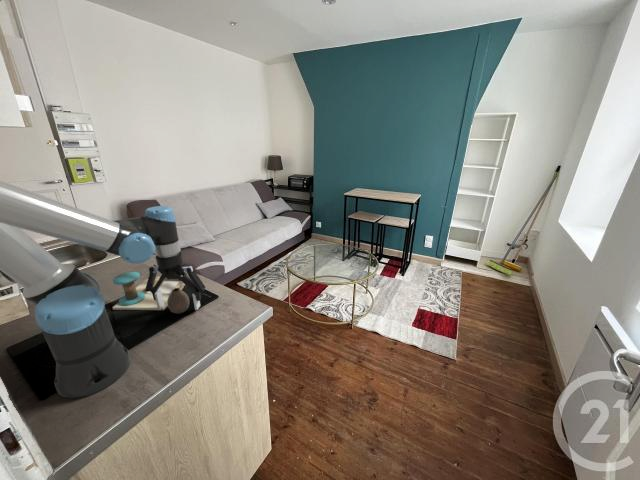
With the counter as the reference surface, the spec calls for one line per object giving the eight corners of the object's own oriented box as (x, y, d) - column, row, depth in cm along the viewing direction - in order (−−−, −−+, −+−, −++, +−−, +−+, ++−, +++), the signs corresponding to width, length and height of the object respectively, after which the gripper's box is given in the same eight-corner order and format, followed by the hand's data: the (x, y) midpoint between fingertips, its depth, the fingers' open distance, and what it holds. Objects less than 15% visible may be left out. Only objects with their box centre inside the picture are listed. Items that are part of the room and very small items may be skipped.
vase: (175, 319, 90) (170, 297, 87) (165, 311, 94) (160, 290, 91) (194, 309, 95) (190, 288, 92) (184, 302, 99) (180, 282, 96)
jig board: (163, 310, 95) (157, 284, 91) (113, 309, 94) (104, 284, 90) (188, 281, 113) (184, 259, 109) (146, 281, 113) (141, 259, 109)
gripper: (209, 249, 90) (217, 301, 98) (138, 248, 90) (151, 301, 98) (200, 258, 83) (209, 314, 91) (123, 257, 83) (138, 313, 91)
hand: (179, 307), depth 94 cm, fingers open, 12 cm apart
